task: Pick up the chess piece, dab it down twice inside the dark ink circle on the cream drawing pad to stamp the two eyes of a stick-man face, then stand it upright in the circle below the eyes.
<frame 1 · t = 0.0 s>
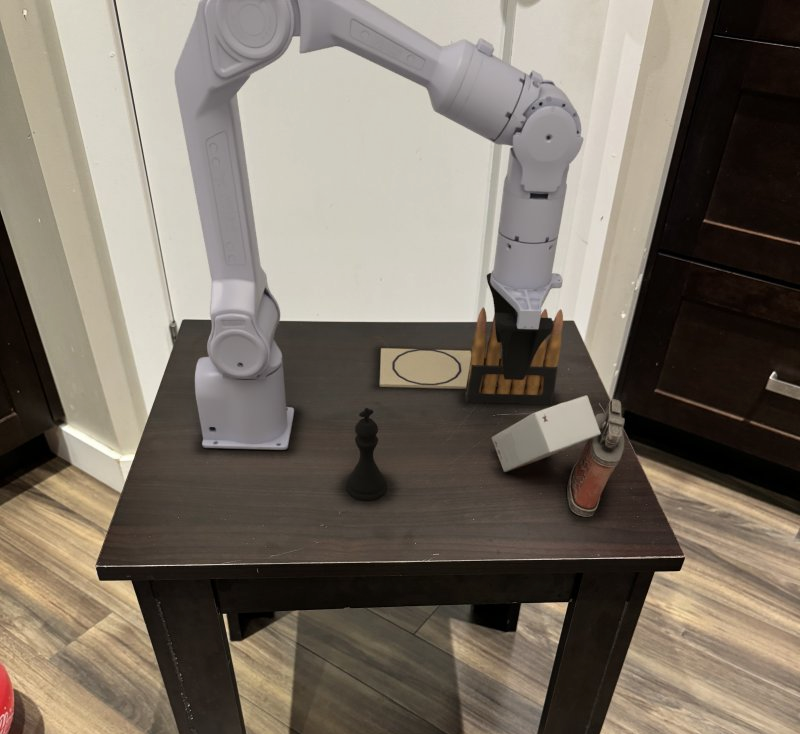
hand: (509, 359, 82), 10 cm above the table, tool pointing down, fingers open, 7 cm apart
drawing pad: (426, 369, 99), on the table
ammunition clip: (508, 400, 95), on the table
chess piece: (366, 489, 81), on the table
cosmetic box: (520, 447, 85), point 2 cm above the table
lighter: (582, 492, 82), on the table
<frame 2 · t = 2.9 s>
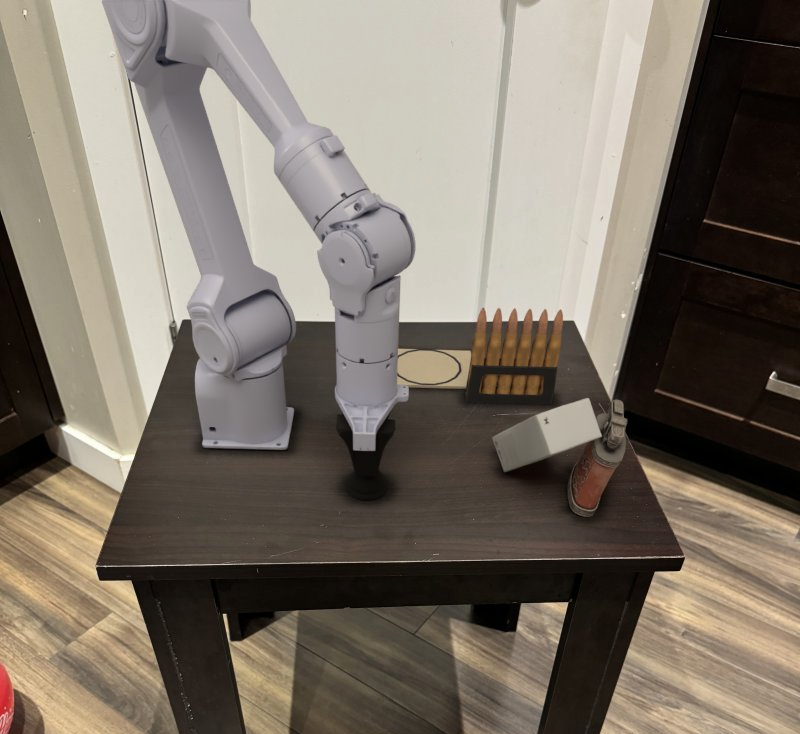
hand: (366, 466, 79), 3 cm above the table, tool pointing down, fingers closed on chess piece, 2 cm apart
chess piece: (366, 489, 81), on the table, touching gripper
cosmetic box: (520, 447, 85), point 2 cm above the table, touching lighter
lighter: (582, 492, 82), on the table, touching cosmetic box
everything else where it was.
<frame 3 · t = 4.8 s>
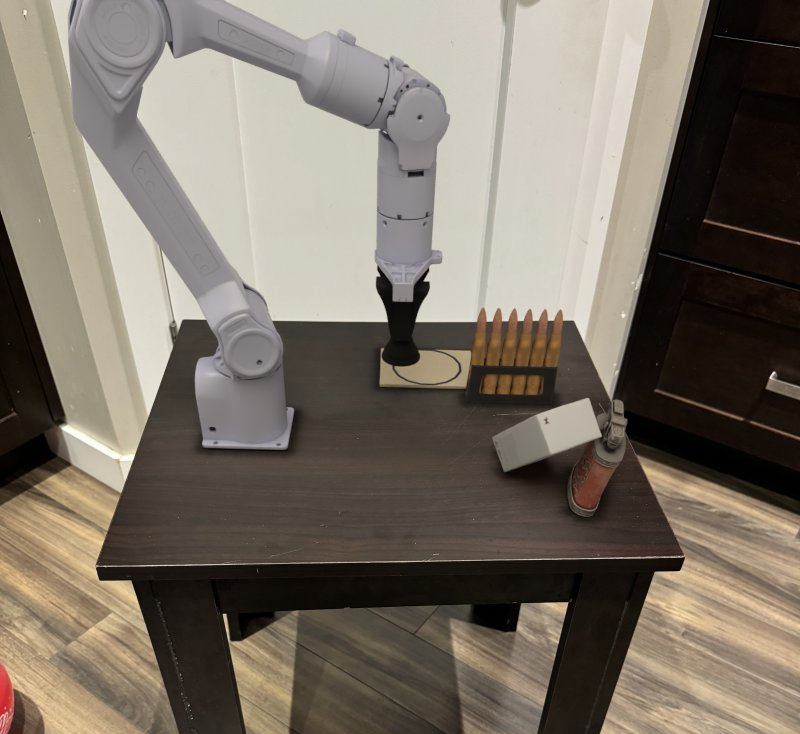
hand: (401, 333, 86), 10 cm above the table, tool pointing down, fingers closed on chess piece, 2 cm apart
chess piece: (400, 359, 88), point 7 cm above the table, touching gripper
everything else where it was.
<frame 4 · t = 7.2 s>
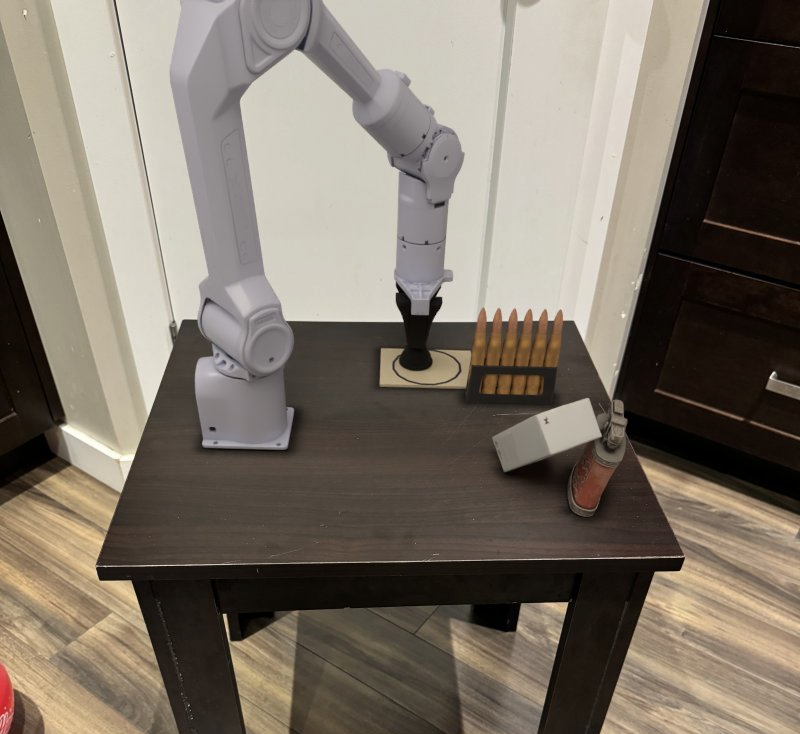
hand: (416, 341, 98), 3 cm above the table, tool pointing down, fingers closed on chess piece, 2 cm apart
chess piece: (415, 363, 100), resting on drawing pad, touching gripper
everything else where it was.
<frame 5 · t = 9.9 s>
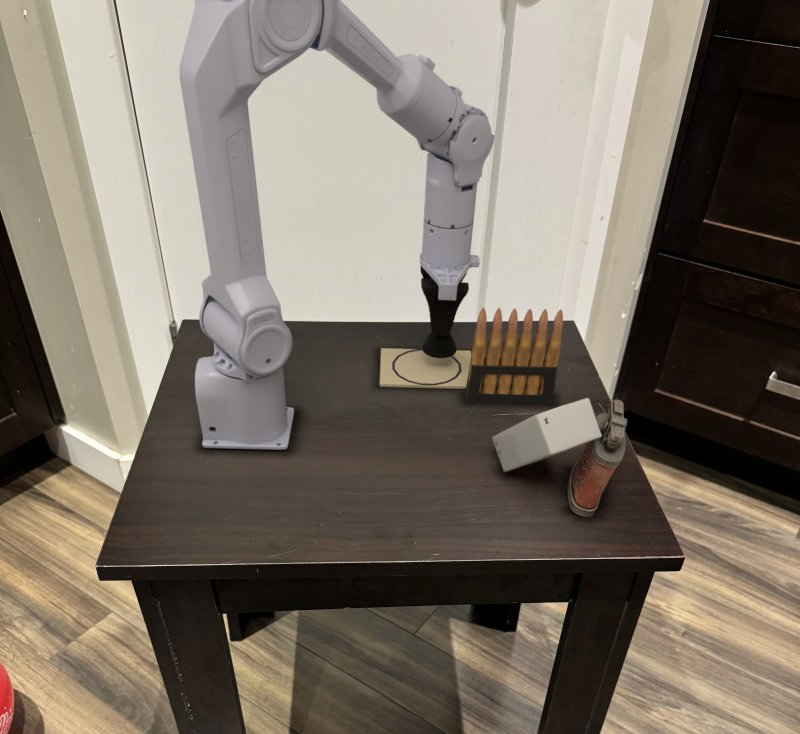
hand: (440, 328, 97), 5 cm above the table, tool pointing down, fingers closed on chess piece, 2 cm apart
chess piece: (439, 351, 99), point 2 cm above the table, touching gripper
everything else where it was.
when the fingers open (3 cm above the table, at t = 11.6 s): chess piece stays where it is, resting on drawing pad.
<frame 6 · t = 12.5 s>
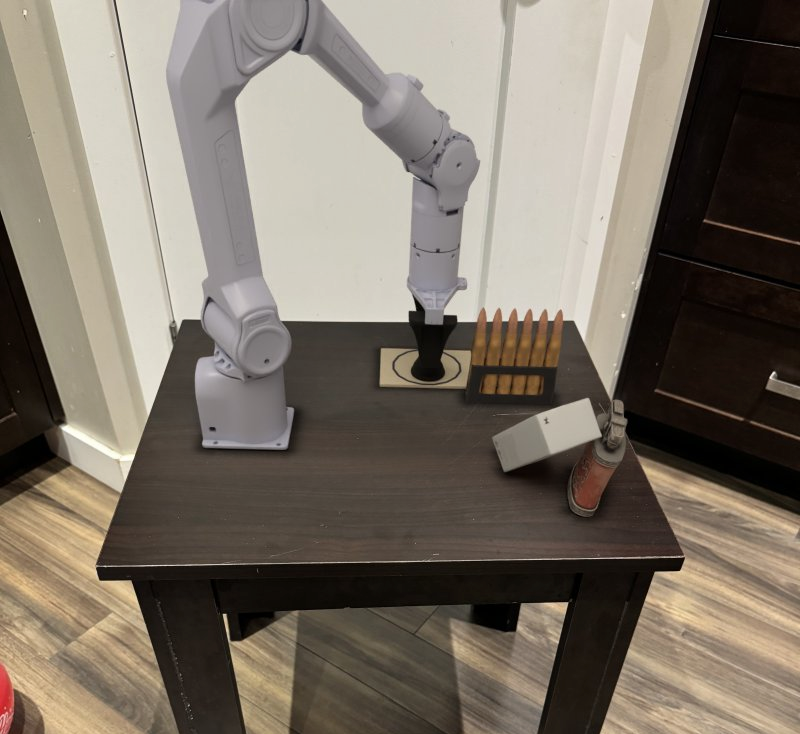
hand: (428, 350, 96), 4 cm above the table, tool pointing down, fingers open, 7 cm apart
chess piece: (427, 374, 98), resting on drawing pad
everything else where it was.
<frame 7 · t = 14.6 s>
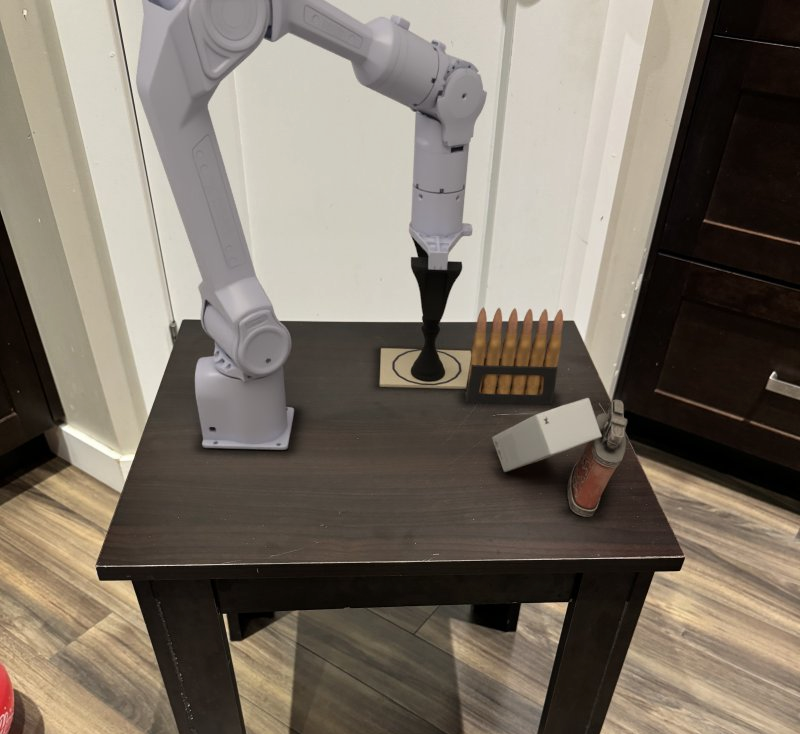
hand: (431, 303, 92), 10 cm above the table, tool pointing down, fingers open, 7 cm apart
nothing on the table moved.
at the end: chess piece 0.1 cm from the target spot on the drawing pad, point 0.2 cm above the drawing pad's base; chess piece tilted 0°; the gripper is holding nothing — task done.
